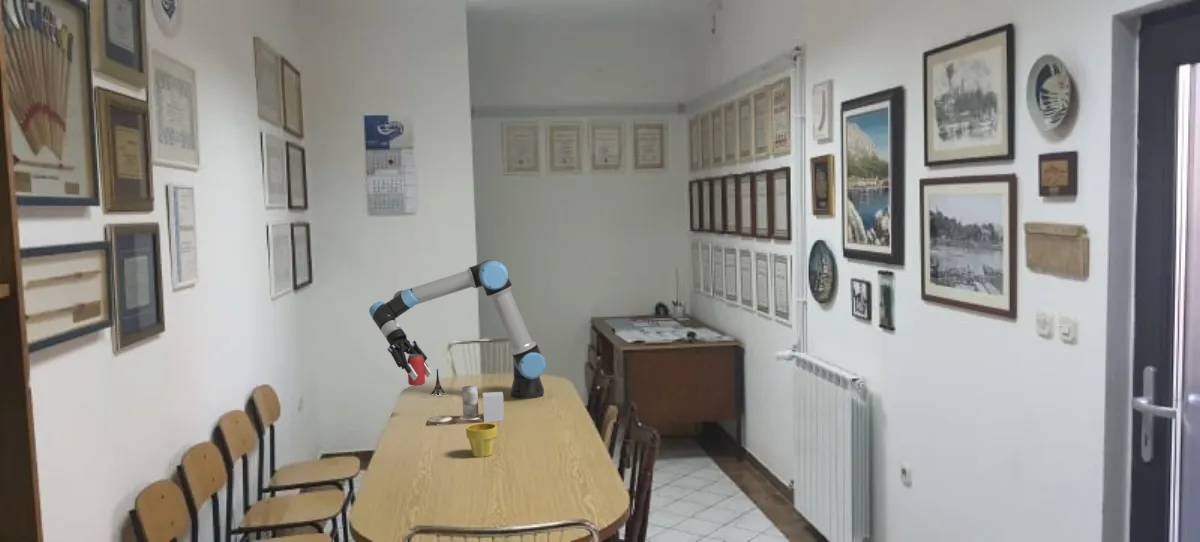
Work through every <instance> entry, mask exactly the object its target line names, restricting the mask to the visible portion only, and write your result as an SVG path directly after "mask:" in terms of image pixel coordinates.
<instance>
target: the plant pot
mask: <svg viewBox="0 0 1200 542" xmlns="http://www.w3.org/2000/svg"><path fill="white" fill-rule="evenodd" d="M465 428H466V429H465V430H466V431H465V432H466V438H467V439H468V441H469V445H470V449H471V452H472V456H473V457H475V456H476V458H485V457H484V456H487V457H490V456H492V455H493V454H494V448H495V446H494V445H495V443H496V442H495V440H496V438H497V435H498V426H497V425H496V424H495V423H492V422H479V423H472V424H469V425H467V426H466V427H465ZM489 455H490V456H489Z"/></svg>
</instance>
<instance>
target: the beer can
mask: <svg viewBox="0 0 1200 542" xmlns="http://www.w3.org/2000/svg"><path fill="white" fill-rule="evenodd" d="M408 364H410V365H411V366H412V368H413V369H414V371H415V372H416V374H417V375H418V376H417V378H416V379H415V380H414V381H413V379H412V378H411V376H410V375H409V373H407V379H408V382H407V383H408V385H409V386H413V387H415V386H422V385H424V384H426V375H425V368H424V358H423V356H422V354H411V355H410V354H408V357H407V365H408Z"/></svg>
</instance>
